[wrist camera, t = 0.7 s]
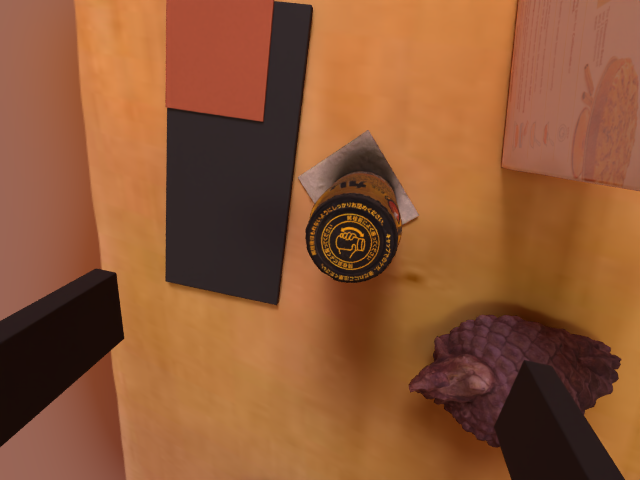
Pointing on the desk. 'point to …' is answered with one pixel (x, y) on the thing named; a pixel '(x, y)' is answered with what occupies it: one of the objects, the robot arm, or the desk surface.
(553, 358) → the pine cone
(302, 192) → the desk surface
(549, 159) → the coffeecake box
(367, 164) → the condiment
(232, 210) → the desk mat
